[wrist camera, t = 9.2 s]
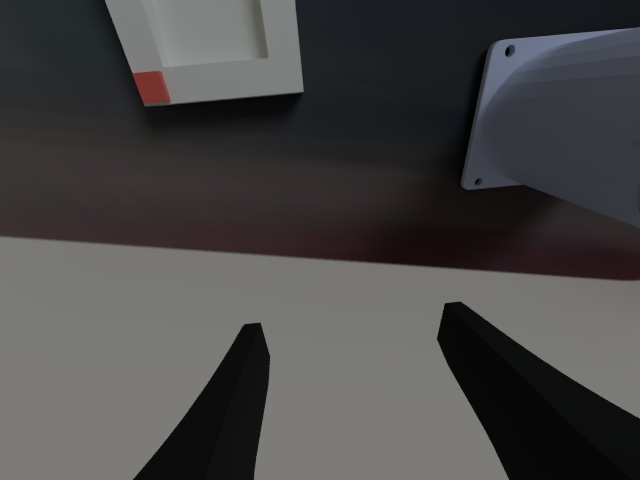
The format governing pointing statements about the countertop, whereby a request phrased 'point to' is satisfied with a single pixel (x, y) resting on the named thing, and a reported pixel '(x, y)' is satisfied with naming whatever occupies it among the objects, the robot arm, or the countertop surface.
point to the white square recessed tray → (209, 48)
